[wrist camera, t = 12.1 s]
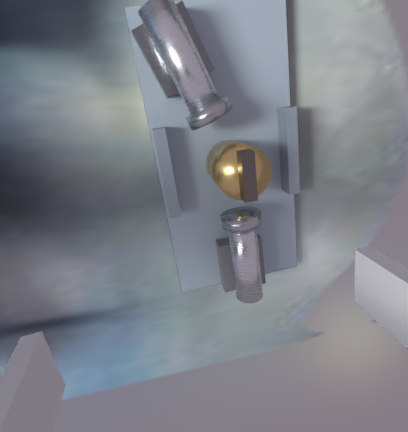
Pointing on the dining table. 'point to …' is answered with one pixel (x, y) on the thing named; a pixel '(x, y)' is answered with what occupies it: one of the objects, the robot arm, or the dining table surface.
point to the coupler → (239, 170)
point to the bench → (227, 138)
